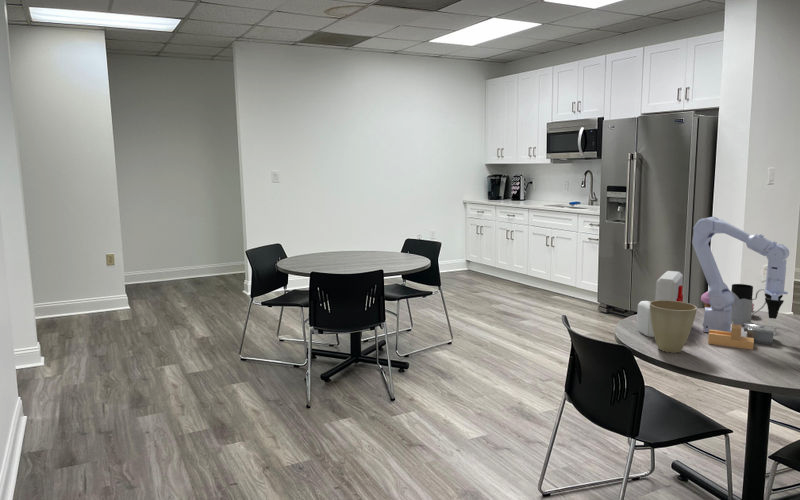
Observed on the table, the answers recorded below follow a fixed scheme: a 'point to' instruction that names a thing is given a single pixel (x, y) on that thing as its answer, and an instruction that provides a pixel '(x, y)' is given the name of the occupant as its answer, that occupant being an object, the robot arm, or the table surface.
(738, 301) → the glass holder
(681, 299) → the bevelled white case
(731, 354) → the table surface
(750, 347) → the bearing beam
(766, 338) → the v-block
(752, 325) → the axle
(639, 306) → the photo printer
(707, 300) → the cupcake
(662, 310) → the plant pot
